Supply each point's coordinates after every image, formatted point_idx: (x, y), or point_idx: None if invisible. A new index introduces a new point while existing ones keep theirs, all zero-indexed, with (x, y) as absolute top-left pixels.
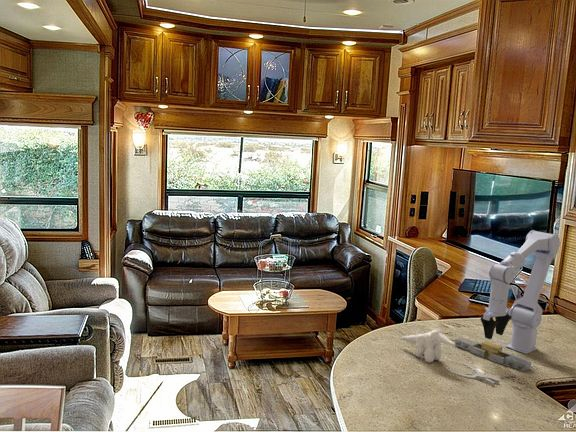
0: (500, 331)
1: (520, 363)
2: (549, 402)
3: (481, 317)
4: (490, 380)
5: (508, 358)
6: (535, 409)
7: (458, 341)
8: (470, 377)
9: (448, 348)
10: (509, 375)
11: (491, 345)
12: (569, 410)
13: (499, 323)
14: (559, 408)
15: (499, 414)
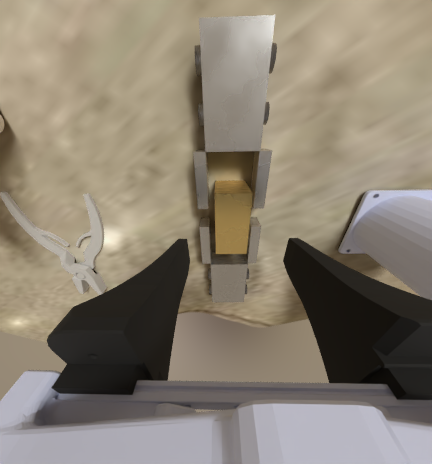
0: (291, 267)
1: (212, 293)
2: None
3: (54, 341)
4: (80, 286)
5: (213, 271)
6: None
7: (197, 55)
8: (52, 251)
9: (139, 49)
10: None
11: (222, 229)
12: None
13: (318, 292)
14: None
15: (29, 323)
